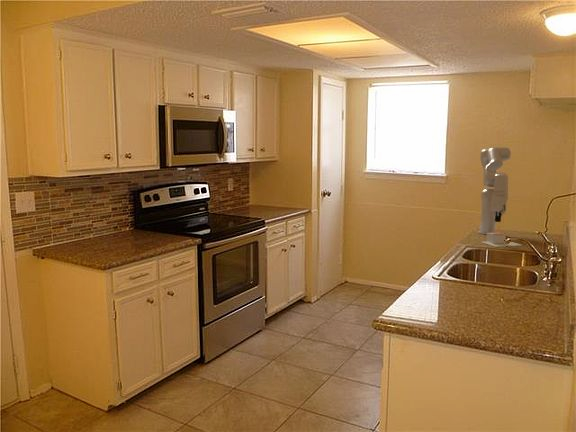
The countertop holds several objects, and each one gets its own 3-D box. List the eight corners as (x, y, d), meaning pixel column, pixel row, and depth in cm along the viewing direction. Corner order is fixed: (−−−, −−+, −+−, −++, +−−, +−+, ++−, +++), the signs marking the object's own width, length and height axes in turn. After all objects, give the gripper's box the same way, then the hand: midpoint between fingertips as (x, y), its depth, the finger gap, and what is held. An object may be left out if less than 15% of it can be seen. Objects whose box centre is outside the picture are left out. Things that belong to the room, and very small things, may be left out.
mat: (481, 242, 320) (481, 241, 320) (507, 241, 324) (507, 240, 324) (495, 247, 306) (495, 246, 306) (522, 245, 310) (522, 245, 310)
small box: (498, 232, 323) (506, 235, 313) (498, 240, 324) (505, 243, 314) (486, 232, 323) (493, 235, 313) (486, 240, 324) (493, 243, 313)
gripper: (487, 192, 323) (485, 219, 326) (502, 195, 308) (499, 224, 312) (497, 191, 324) (495, 219, 328) (512, 194, 310) (510, 223, 313)
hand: (497, 221), depth 320 cm, fingers closed
